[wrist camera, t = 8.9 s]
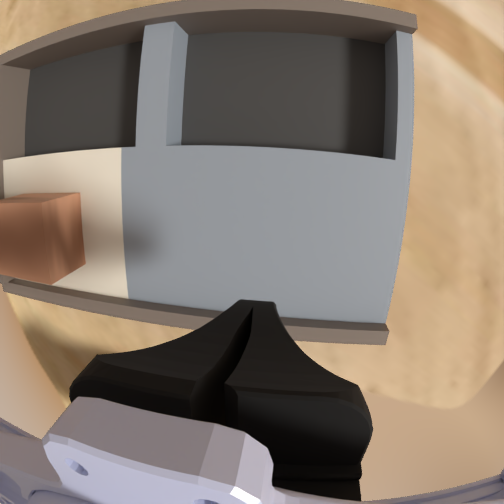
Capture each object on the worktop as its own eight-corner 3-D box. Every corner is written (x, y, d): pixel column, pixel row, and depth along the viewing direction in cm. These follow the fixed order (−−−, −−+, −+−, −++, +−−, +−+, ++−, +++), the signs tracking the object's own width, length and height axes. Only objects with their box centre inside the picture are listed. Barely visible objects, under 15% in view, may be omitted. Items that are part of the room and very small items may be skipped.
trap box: (372, 315, 22) (387, 349, 18) (30, 275, 25) (-1, 293, 21) (397, 35, 16) (419, 11, 12) (26, 62, 19) (-8, 56, 15)
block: (85, 264, 21) (51, 285, 17) (30, 256, 21) (-4, 273, 17) (80, 192, 19) (41, 202, 15) (23, 193, 20) (-14, 203, 16)
